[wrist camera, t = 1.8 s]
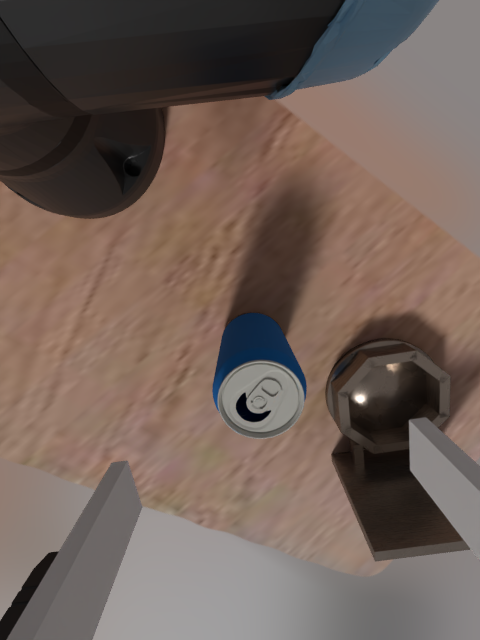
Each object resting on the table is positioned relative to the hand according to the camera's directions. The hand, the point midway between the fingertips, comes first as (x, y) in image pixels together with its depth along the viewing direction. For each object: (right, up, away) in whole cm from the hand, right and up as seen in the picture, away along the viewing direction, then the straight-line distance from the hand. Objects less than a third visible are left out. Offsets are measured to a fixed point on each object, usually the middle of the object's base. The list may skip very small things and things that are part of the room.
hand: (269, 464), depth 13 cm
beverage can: (0, +5, +17) cm, 17 cm away
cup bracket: (+14, -2, +18) cm, 23 cm away
